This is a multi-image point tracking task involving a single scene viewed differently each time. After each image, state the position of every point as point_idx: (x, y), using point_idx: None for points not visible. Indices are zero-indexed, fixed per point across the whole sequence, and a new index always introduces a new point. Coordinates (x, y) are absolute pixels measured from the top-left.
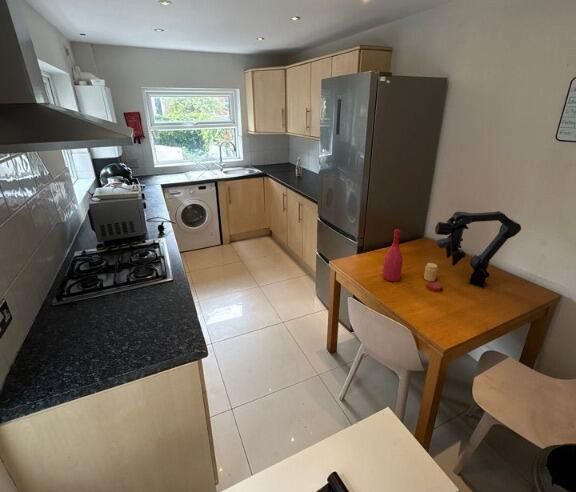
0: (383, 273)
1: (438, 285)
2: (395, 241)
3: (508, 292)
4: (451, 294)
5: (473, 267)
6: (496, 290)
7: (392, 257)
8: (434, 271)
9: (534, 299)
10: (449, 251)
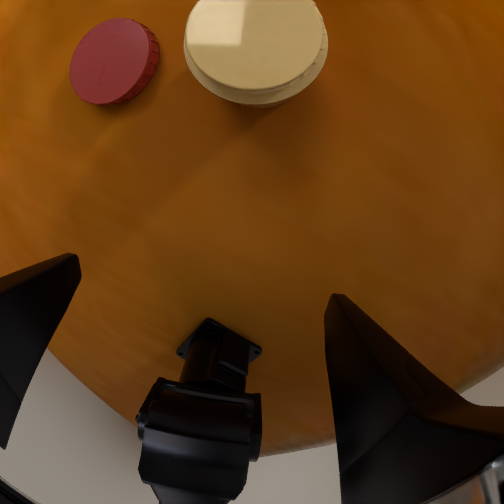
0: None
1: (102, 85)
2: None
3: None
4: (67, 155)
5: (173, 408)
6: (166, 378)
7: None
8: (188, 56)
9: None
10: (359, 407)
